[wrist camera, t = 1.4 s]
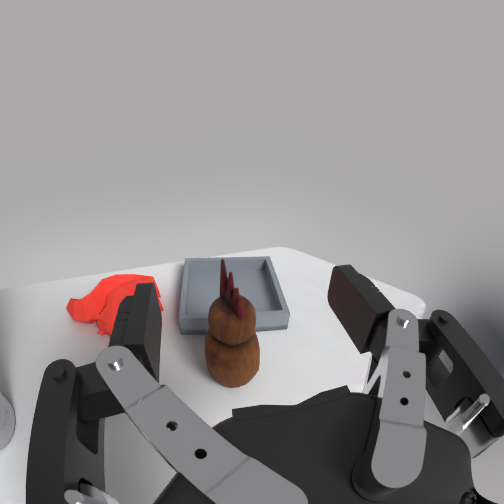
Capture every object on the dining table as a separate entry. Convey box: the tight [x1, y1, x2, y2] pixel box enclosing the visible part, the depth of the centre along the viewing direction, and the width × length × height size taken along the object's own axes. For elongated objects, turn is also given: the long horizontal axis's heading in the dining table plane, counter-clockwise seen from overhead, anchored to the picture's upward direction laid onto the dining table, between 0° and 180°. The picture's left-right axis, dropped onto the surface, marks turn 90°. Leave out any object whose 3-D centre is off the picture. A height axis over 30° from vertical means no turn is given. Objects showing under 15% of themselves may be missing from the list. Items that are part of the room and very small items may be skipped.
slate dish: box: [179, 256, 290, 334], centre depth 42 cm, size 15×15×3 cm
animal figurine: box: [66, 274, 163, 335], centre depth 35 cm, size 12×15×5 cm
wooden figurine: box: [205, 259, 260, 388], centre depth 27 cm, size 7×6×15 cm
